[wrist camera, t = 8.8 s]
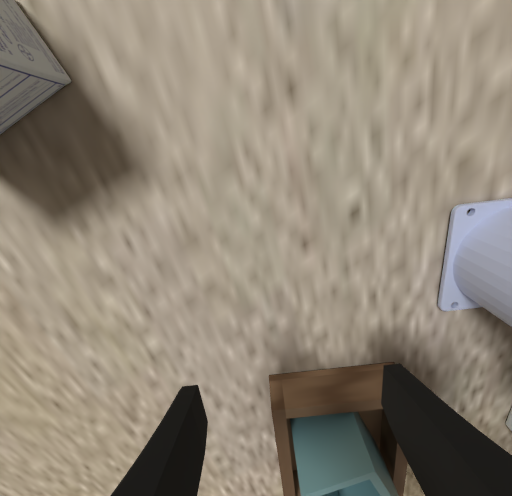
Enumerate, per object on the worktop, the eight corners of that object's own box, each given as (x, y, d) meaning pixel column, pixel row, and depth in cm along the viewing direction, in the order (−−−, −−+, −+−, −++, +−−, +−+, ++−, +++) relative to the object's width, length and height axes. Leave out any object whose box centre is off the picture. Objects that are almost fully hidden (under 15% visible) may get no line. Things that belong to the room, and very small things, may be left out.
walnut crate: (393, 361, 22) (416, 395, 19) (385, 460, 27) (402, 500, 24) (269, 375, 22) (271, 410, 19) (282, 470, 27) (285, 511, 24)
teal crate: (344, 389, 22) (375, 471, 17) (376, 443, 25) (413, 530, 19) (289, 411, 23) (301, 496, 18) (326, 461, 26) (347, 550, 20)
